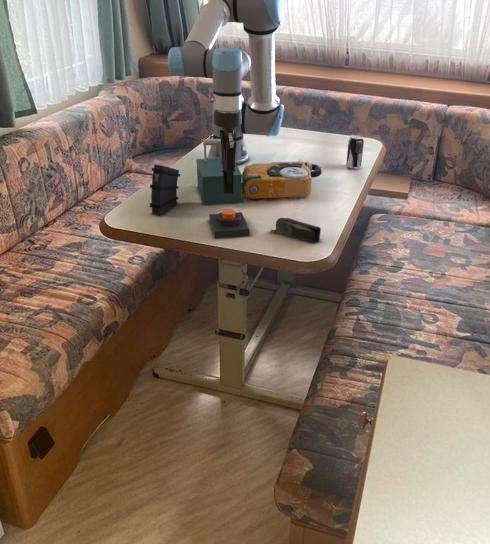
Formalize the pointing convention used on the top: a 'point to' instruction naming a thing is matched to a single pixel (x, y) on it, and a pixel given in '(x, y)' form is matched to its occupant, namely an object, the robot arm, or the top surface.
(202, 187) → the teal rectangular block
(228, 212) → the button
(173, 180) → the magazine
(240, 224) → the control block
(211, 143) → the lid
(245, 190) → the device
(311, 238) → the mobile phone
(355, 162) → the beverage can
